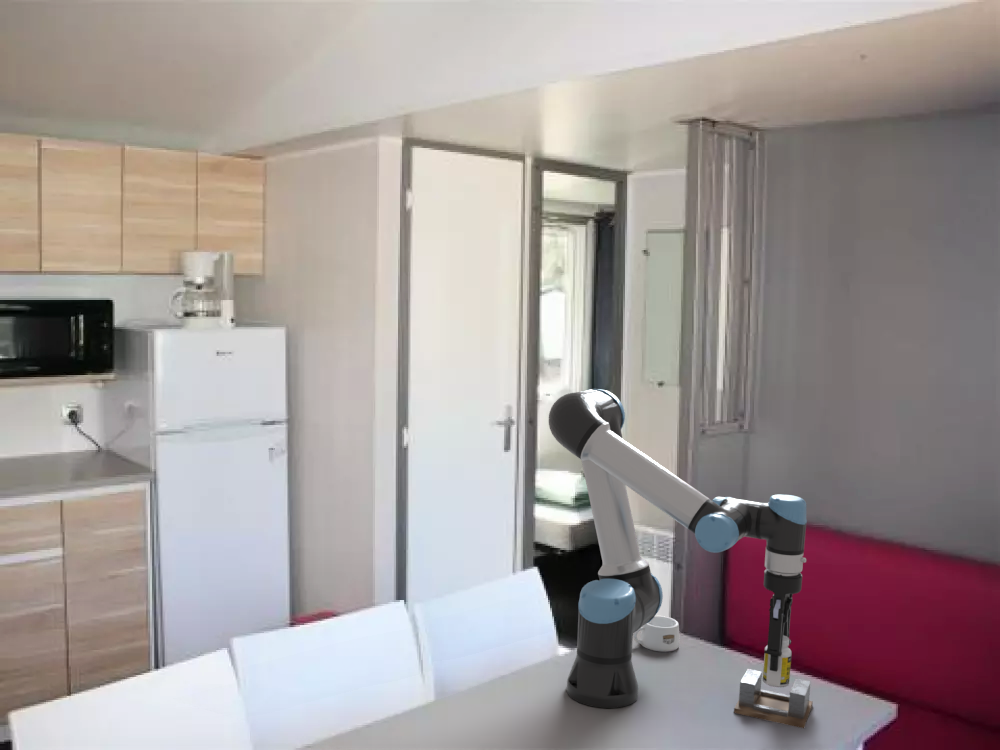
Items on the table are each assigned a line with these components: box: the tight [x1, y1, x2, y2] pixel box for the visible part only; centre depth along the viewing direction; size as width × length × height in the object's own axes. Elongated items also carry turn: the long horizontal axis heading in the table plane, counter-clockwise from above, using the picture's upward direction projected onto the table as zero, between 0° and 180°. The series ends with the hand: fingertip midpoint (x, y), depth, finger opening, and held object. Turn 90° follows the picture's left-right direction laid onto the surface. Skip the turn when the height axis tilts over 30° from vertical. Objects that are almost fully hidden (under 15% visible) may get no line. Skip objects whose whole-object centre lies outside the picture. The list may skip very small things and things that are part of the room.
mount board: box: [733, 693, 813, 729], centre depth 204 cm, size 14×12×1 cm
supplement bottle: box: [762, 635, 792, 688], centre depth 203 cm, size 5×5×10 cm
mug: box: [633, 615, 681, 653], centre depth 237 cm, size 12×10×6 cm
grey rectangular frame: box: [738, 668, 812, 719], centre depth 203 cm, size 13×9×5 cm
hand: (775, 678), depth 203 cm, fingers closed on supplement bottle, 5 cm apart
